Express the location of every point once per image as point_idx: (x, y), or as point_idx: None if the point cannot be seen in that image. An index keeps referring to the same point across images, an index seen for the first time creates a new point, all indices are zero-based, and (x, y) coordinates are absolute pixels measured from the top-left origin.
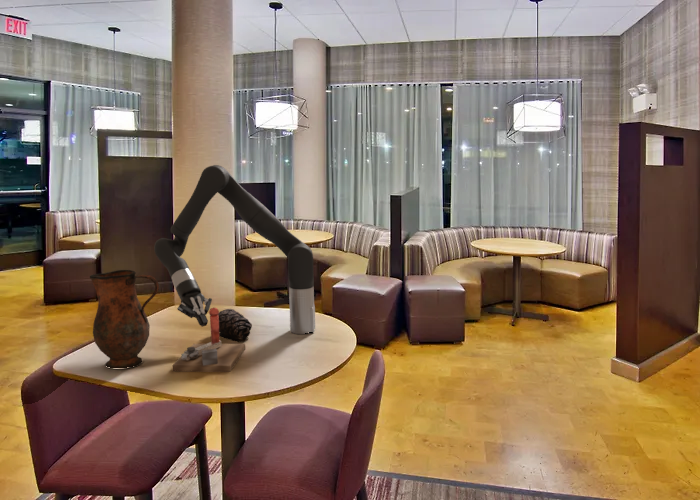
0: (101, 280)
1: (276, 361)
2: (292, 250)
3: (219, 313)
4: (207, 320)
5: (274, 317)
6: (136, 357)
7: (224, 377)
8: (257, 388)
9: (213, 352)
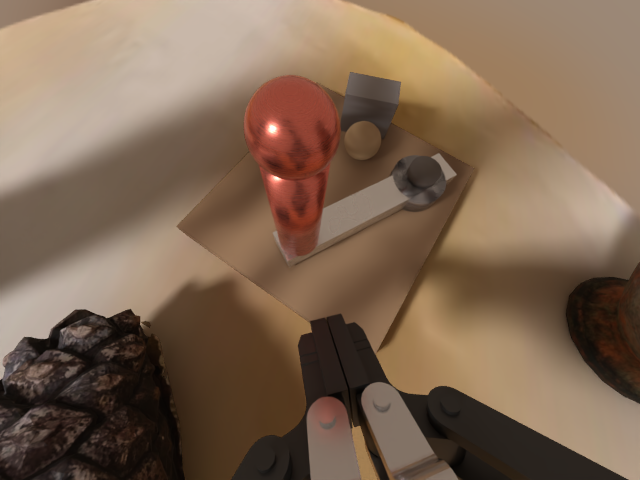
0: None
1: (172, 94)
2: None
3: None
4: (301, 345)
5: None
6: (611, 305)
7: (341, 79)
8: (298, 6)
9: (362, 76)
